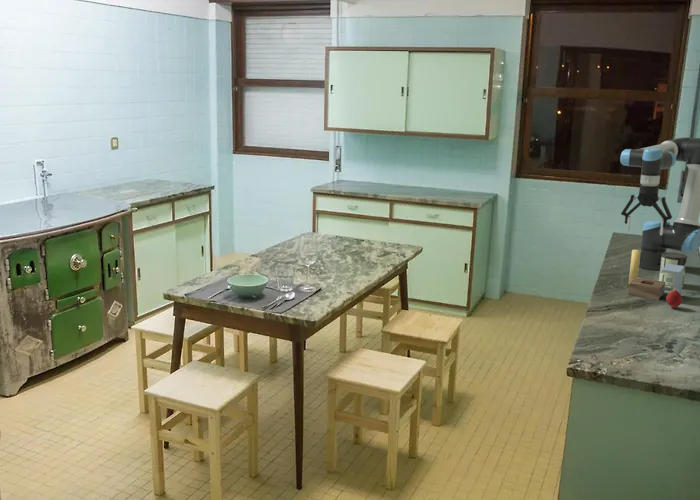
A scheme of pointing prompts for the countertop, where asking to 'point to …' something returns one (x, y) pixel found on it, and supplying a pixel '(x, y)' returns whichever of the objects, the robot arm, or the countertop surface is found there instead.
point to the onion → (674, 298)
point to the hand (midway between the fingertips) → (644, 232)
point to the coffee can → (675, 260)
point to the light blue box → (678, 273)
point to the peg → (634, 265)
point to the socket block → (646, 288)
